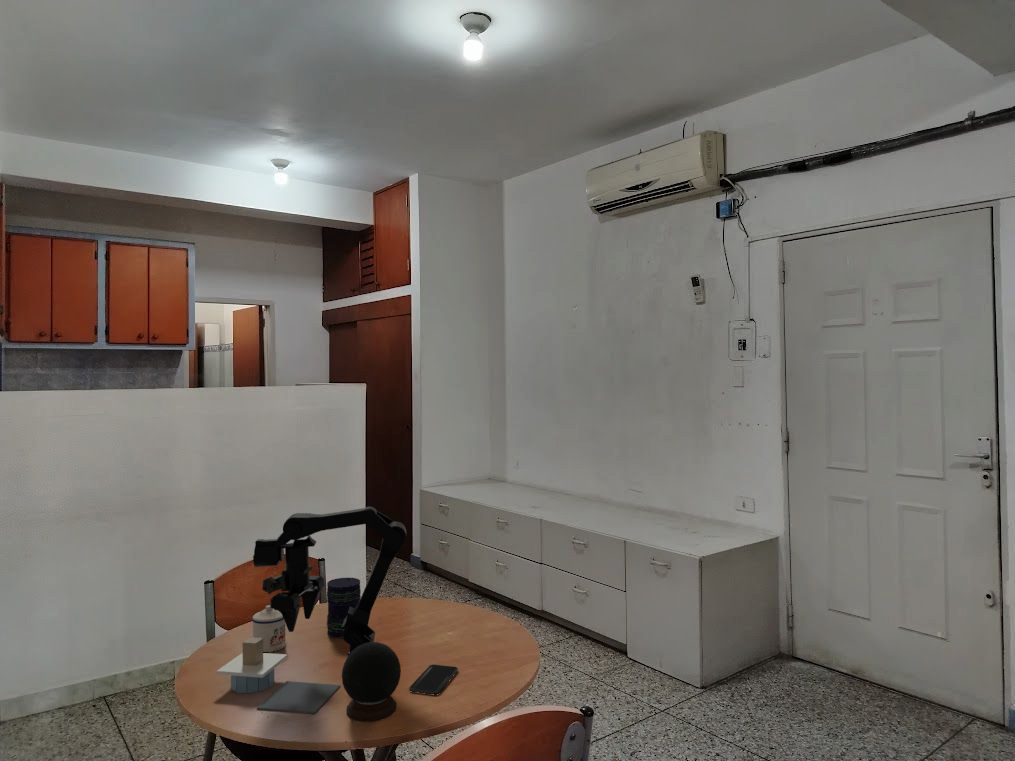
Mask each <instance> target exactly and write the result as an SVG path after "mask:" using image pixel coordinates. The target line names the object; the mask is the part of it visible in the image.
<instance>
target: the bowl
mask: <svg viewBox="0 0 1015 761" xmlns="http://www.w3.org/2000/svg"><path fill="white" fill-rule="evenodd" d="M274 684H275V668H274V669H273V670H272V671H270V672H269V673H268V674H267V675H265V676H264V677H263V678H260V677H246V676H233V675H230V690H231V691H233V692H235V693H237V694H238V693H239V694H253V693H258V692H261V691H263V690H264V691H265V690H266V689H269V688H271V686H272V685H274Z"/></svg>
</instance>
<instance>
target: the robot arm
mask: <svg viewBox="0 0 1015 761" xmlns="http://www.w3.org/2000/svg"><path fill="white" fill-rule="evenodd" d="M361 525H366V526H368V527H370V528H371V530H373V531H374V533H375V534H377V535H378V536H380V538H382V541H381V545H380V551H379V554H378V557H377V558H376V561H375V563H374V566H373V568H372V571H371V573H370V575H369V577H368V580H367V583H366V585H365V587H364V590H363V593H362V594H361V597H360V601H359V603H358V605H357V606H356V607H355V609H354V608H353V607H351V606H350V608H349V611H348V615H347V617H346V618H345V619H344V622H343V625H342V629H344V631H343V638H342V639H343V641H344V642H345V643H346V644H348V645H349V650H348V651H349V652H348V653H347V657H348V656H349V654H350V653H351V652H352V651H353V650H354V649H355V648H357V647H358V646H360V645H362V644H365V643H369V642H375V636H376V632H375V630H374V629H372V628H371V627H370V626H369V621H370V618H371V612H372V609H373V606H374V604H375V602H376V600H377V598H378V595H379V592H380V590H381V588H382V585H383V583H384V581H385V579H386V576H387V573H388V571H389V568H390V567H391V565H392V562H393V560H394V559H395V558H396V556H397V555H398V554H399V553H400V551H401V549H402V547H403V546H404V545H405V543H406V540H407V529H406V526H405V525H404V524H403V523H402V522H401V521H396V520H395V521H394V520H392V519H391V518H390V517H388V516H387V515H385V514H383V513H381V512H380V511H378V510H377V509H376V508H375V507H373V506H366V507H364V508H358V509H350V510H342V511H337V512H336V511H335V512H330V513H323V514H322V513H321V514H320V513H317V514H316V513H311V512H310V513H307V512H305V513H304V512H298V513H297V512H296V513H293V514H291V515H290V516H289V517H288V518H287V519H286V520H285V521H284V523H283V526H282V533H280V534H279V536H278V537H277V538H268V539H264V538H259V539H256V541H255V542H254V544H255V545H254V549H253V550H254V551H253V555H252V560H253V561H252V562H253V566H254V568H259V567H260V568H261V567H262V568H263V567H274V566H275V567H277V566H279V565H280V562H283V561H284V558H285V569H283V570H282V571H281V574H279V575H277V576H273V577H272V576H269V577H267V578H264V579H263V580H262V583H261V584H262V587H261V589H262V591H263V592H265V593H267V595H271V594H272V593H274V592H276V591H279V590H280V591H279V592H278V593H277V594H274V596H272V597H271V598H270V600H269V605H270V608H273V609H274V610H278V611H279V612H280V613H281V614H282V616H283V618H284V620H285V627H287V628H286V629H287V630H288V632H289V633H293V632H294V631H295V627H296V624H297V620H298V615H299V611H300V608H301V604H300V602H301V599H302V607H303V608H302V609H303V613H304V615H303V616H304V619H305V620H309V619H311V617H312V614H313V612H314V611H313V610H314V608H315V606H316V603H317V601H318V599H319V597H320V595H321V592H322V591H323V588H324V587H325V578H324V577H322V576H321V575H310V571H312V570H313V565H310V554H309V552H310V547H315V545H316V544H317V541H316V540H315V539H314V538H312V537H311V536H312V535H314V534H316V533H319V532H323V531H329V530H336V529H342V528H348V527H354V526H361ZM303 538H304V539H303ZM291 540H292V541H293V542H290V541H291Z"/></svg>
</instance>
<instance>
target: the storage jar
mask: <svg viewBox="0 0 1015 761" xmlns="http://www.w3.org/2000/svg"><path fill="white" fill-rule="evenodd" d="M326 586H327V588H326V602H327V617H326V626H327V627H326V628H327V630H326V631H327V632H326V634H327V636H329V638H330V637H331V638H334V639H344V638H343V631H344V629H342V625H343V622H344V619H345V618H346V617H347V615H348V611H349V608H350V606H351V607H353V608H354V609H355V607H356V606H357V605H358V603H359V601H360V599H361V597H362V594H361V579H359V578H357V577H339V578H333V579H331V580H328V582H326Z"/></svg>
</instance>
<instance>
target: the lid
mask: <svg viewBox="0 0 1015 761" xmlns="http://www.w3.org/2000/svg"><path fill="white" fill-rule="evenodd" d="M287 659H288V654H285V653H283V654H282V653H273V652H269V653H263V638H254V637H253V636H251V637H249V638H247V639H246V640H244V641H242V652H241V653H240V654H239V655H238V656H235V657H234V658H233V659H231V660H230V661H229V662H227V663H226V664H224V665H223V666H221V667H220V668H219V669H218V670H216V675H220V676H221V675H222V676H231V675H233V676H246V677H260V678H263V677H264V676H265V675H267V674H268V673H269V672H270V671H272V670H273V669H274V670H275V668H277V667H278V666H279V665H280V664H282V663H283V662H284V661H285V660H287Z"/></svg>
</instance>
